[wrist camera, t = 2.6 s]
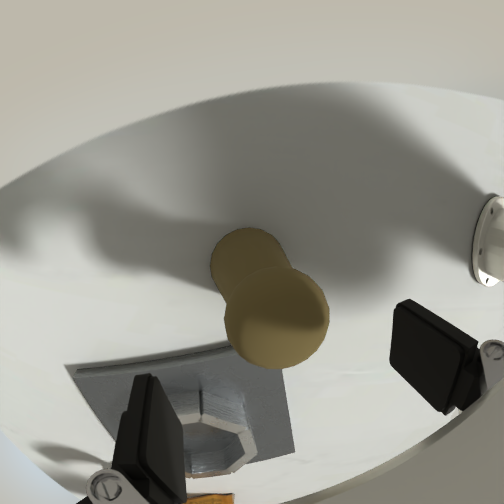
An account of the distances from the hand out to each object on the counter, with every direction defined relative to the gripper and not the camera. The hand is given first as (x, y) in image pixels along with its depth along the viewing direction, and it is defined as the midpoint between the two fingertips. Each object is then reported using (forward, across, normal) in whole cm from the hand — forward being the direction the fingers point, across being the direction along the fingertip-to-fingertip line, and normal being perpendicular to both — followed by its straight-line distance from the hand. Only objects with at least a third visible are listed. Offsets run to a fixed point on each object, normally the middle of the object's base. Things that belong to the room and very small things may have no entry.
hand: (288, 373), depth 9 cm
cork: (+14, -1, 0) cm, 14 cm away
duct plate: (+14, +8, +16) cm, 23 cm away
